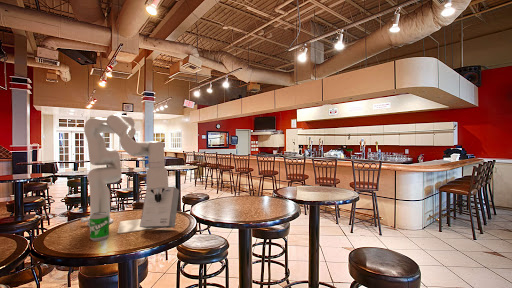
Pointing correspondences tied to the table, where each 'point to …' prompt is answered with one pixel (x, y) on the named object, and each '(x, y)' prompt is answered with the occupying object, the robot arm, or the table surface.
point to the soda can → (99, 226)
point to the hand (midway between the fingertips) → (158, 201)
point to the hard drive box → (160, 209)
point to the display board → (131, 226)
